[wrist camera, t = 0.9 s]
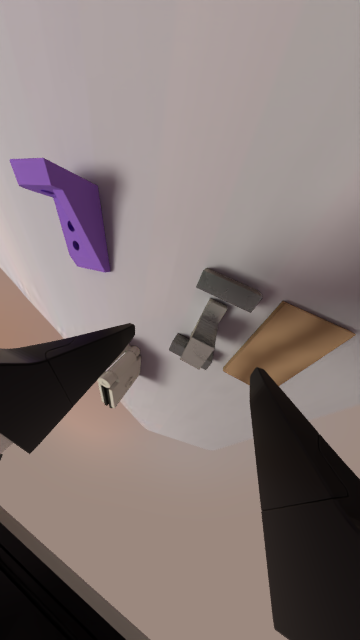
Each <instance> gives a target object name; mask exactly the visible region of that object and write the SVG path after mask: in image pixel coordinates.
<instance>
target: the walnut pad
mask: <svg viewBox="0 0 360 640" xmlns="http://www.w3.org/2000/svg"><path fill="white" fill-rule="evenodd" d="M355 335H356V334H354V333H352V332H351V331H349V330H347V329H345V328H342V327H340V326H338V325H336V324H333V323H331V322H329V321H327V320H325V319H322V318H320V317H318V316H316V315H313V314H311V313H309V312H307V311H304V310H302V309H300V308H298V307H295V306H293V305H291V304H289V303H286V302H284V301H282V302H281V304H280V305H279V306H278V307H277V308H276V309H275V310H274V311H273V312H272V314H271V315H270V316H269V317H268V318H267V319H266V320H265V321H264V323H263V324H262V325H261V326H260V327H259V328H258V329H257V330H256V331H255V333H254V334H253V335H252V336H251V337H250V338H249V339H248V340H247V342H246V343H245V344H244V345H243V346H242V347H241V348H240V349H239V350H238V352H237V353H236V354H235V355H234V356H233V357H232V358H231V359H230V361H229V362H228V363H227V364H226V365H225V366H224V367H223V371H224V372H226V373H228V374H229V375H231V376H233V377H235V378H237V379H239V380H241V381H243V382H244V383H246V384H248V385H250V375H251V374H252V372H253V371H254V369H255V368H256V367H259V368H262V369H264V370H265V371H266V372H267V373H268V374H269V376H270V377H271V378H272V379H273V380H274V381H275V383H276V384H277V385H278V386H279V385H281V384H282V383H284V382H285V381H287V380H288V379H290V378H291V377H293V376H295V375H296V374H298V373H299V372H301V371H302V370H304V369H305V368H307V367H308V366H310V365H311V364H313V363H314V362H316V361H317V360H319V359H320V358H322V357H323V356H325V355H326V354H328V353H329V352H331V351H332V350H334V349H335V348H337V347H338V346H340V345H341V344H343V343H344V342H346V341H347V340H349V339H350V338H352V337H353V336H355Z"/></svg>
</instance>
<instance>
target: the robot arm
mask: <svg viewBox="0 0 360 640" xmlns="http://www.w3.org/2000/svg"><path fill="white" fill-rule="evenodd" d="M134 335H135V325H134V324H131V323H128V324H124V325H120V326H116V327H112V328H108V329H104V330H99V331H95V332H91V333H87V334H83V335H79V336H75V337H71V338H66V339H62V340H58V341H52V342H47V343H42V344H37V345H32V346H27V347H21V348H14V349H0V460H1V457H2V454H1V453H2V452H3V451H4V450H6V449H7V448H8V447H9V446H10V445H11V444H12V443H15V444H16V445H17V446H19V447H20V448H22V449H23V450H25V451H26V452H28V453H29V454H30V453H31V452H32V451H33V450H34V449H35V448H36V447H37V446H38V445H39V444H40V443H41V442H42V440H43V439H44V438H45V437H46V436H47V435H48V434H49V433H50V432H51V430H52V429H53V428H54V427H55V426H56V425H57V424H58V423H59V422H60V421H61V419H62V418H63V417H64V416H65V415H66V414H67V413H68V412H69V411H70V410H71V408H72V407H73V406H74V405H75V404H76V403H77V402H78V400H79V399H80V398H81V397H82V396H83V395H84V394H85V393H86V392H87V390H88V389H89V388H90V387H91V386H92V385H93V384H94V383H95V382H96V381H97V379H98V378H99V377H100V376H101V375H102V374H103V373H104V372H105V371H106V369H107V368H108V367H109V366H110V365H111V364H112V363H113V362H114V361H115V360H116V358H117V357H118V356H119V355H120V354H121V353H122V352H123V350H124V349H125V348H126V346H127V345H128V344H129V342H130V341H131V340H132V338H133V337H134ZM250 409H251V419H252V428H253V437H254V446H255V456H256V465H257V474H258V484H259V493H260V502H261V510H262V512H261V513H262V522H263V531H264V541H265V550H266V559H267V569H268V578H269V587H270V596H271V604H272V605H271V606H272V614H273V622H274V628H275V630H276V631H278V632H279V633H280V634H282V635H283V636H284V637H286V638H287V639H289V640H360V479H359V478H358V477H357V476H356V475H355V474H354V472H353V471H352V470H351V469H350V468H349V467H348V466H347V465H346V464H345V463H344V462H343V461H342V459H341V458H340V457H339V456H338V455H337V454H336V452H335V451H334V450H333V449H332V448H331V447H330V446H329V445H328V443H327V442H326V441H325V440H324V439H323V437H322V436H321V435H319V433H318V432H317V431H316V429H315V428H314V427H313V426H312V425H311V423H310V422H309V421H308V420H307V419H306V418H305V416H304V415H303V414H302V413H301V412H300V411H299V409H298V408H297V407H296V406H295V405H294V404H293V402H292V401H291V400H290V399H289V398H288V397H287V395H286V394H285V393H284V392H283V391H282V390H281V388H280V387H279V386H278V385H277V384H276V383H275V381H274V380H273V379H272V378H271V377H270V376H269V374H268V373H267V372H266V371H265V370H264V369H262V368H259V367H256V368H255V369H254V371H253V372H252V374H251V375H250ZM0 640H150V639H149V638H148V637H147V636H146V635H144V634H143V633H142V632H141V631H140V630H139V629H138V628H137V627H135V626H134V625H133V624H132V623H131V622H130V621H129V620H128V619H127V618H125V617H124V616H123V615H122V614H121V613H120V612H119V611H118V610H116V609H115V608H114V607H113V606H112V605H111V604H110V603H108V601H106V600H105V599H104V598H103V597H102V596H101V595H100V594H98V593H97V592H96V591H95V590H94V589H93V588H92V587H91V586H89V585H88V584H87V583H86V582H85V581H84V580H83V579H82V578H81V577H79V576H78V575H77V574H76V573H75V572H74V571H73V570H72V569H71V568H69V567H68V566H67V565H66V564H65V563H64V562H63V561H62V560H60V559H59V558H58V557H57V556H56V555H55V554H54V553H53V552H51V551H50V550H49V549H48V548H47V547H46V546H44V544H42V543H41V542H40V541H39V540H38V539H37V538H36V537H34V535H32V534H31V533H30V532H29V531H28V530H27V529H26V528H24V527H23V526H22V525H21V524H20V523H19V522H18V521H17V520H16V519H14V518H13V517H12V516H11V515H10V514H9V513H7V511H5V510H4V509H3V508H2V507H1V506H0Z"/></svg>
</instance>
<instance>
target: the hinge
mask: <svg viewBox="0 0 360 640" xmlns="http://www.w3.org/2000/svg"><path fill="white" fill-rule="evenodd" d="M124 352H125V354H124V355H123V356H122V357H121V358H120V359H119V360H118V361H117V362H116V363H115V364H114V365H113V366H112V367H111V368H110V369H109V370H107V369H108V368H109V367H110V366H111V365H112V364H113V363H114V362H115V361H116V360H117V359H118V358H119V357H120V356H121V355H122V354H123V353H124ZM139 354H140V350H139V348H138V347H136V346H132V347H131V346H130V345H129V344H128V345H127V346H126V348H125V349H124V350H123V352H122V353H121V354H120V355H119V356H118V357H117V358H116V360H115V361H114V362H113V363H112V364H111V365H110V366H109V367H108V368H107V369H106V370H107V371H106V372H104V373H103V374H102V375H101V376H100V377H99V378H98V379H97V381H98V385H99V389H100V393H101V398H102V402H104V403H105V405H108V404H109V406H110V408H115V407H116V406H117V404H118V403H119V402H120V400H121V399H122V398H123V396H124V395H125V393H126V392H127V391H128V389H129V388H130V387H131V385H132V384H133V383H134V381H135V380H136V379H137V377H138V376H139V374H140V366H141V356H139Z"/></svg>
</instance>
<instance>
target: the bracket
mask: <svg viewBox="0 0 360 640" xmlns="http://www.w3.org/2000/svg"><path fill="white" fill-rule="evenodd" d="M10 163H11V166H12V168H13V171H14V174H15V176H16V179H17V182H18V184H19V186H21V187H23V188H25V189H28V190H31V191H34V192H38V193H41V194H44V195H47V196H50V197H53V198H54V201H55V205H56V209H57V212H58V216H59V219H60V223H61V226H62V230H63V233H64V237H65V240H66V244H67V247H68V251H69V255H70V256H71V258H72V259H73V261H74V262H75V264H76V265H77V266H78V267H83V268H87V269H92V270H97V271H101V272H111V271H110V265H109V258H108V251H107V245H106V238H105V231H104V224H103V218H102V211H101V204H100V198H99V191H98V186H97V185H95V184H93V183H91V182H89V181H87V180H85V179H83V178H81V177H79V176H78V175H76V174H74V173H72V172H70V171H68V170H66V169H64V168H62V167H60V166H58V165H56V164H54V163H52V162H50V161H48V160H46V159H45V158H28V159H10Z"/></svg>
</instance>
